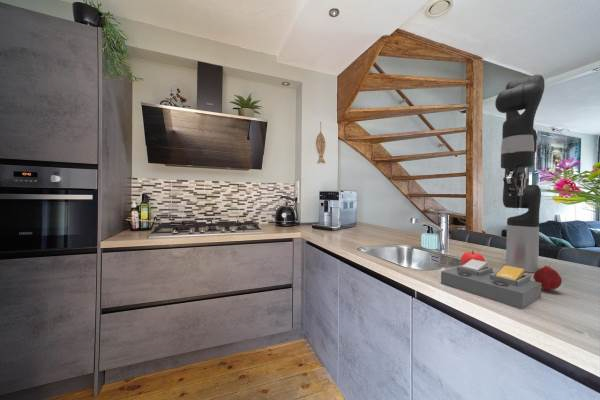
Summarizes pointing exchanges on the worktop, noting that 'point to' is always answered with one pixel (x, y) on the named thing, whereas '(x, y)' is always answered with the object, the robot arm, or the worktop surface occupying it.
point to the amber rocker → (511, 272)
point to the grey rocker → (475, 265)
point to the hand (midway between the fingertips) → (515, 208)
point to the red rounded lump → (548, 278)
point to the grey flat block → (493, 285)
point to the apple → (471, 257)
